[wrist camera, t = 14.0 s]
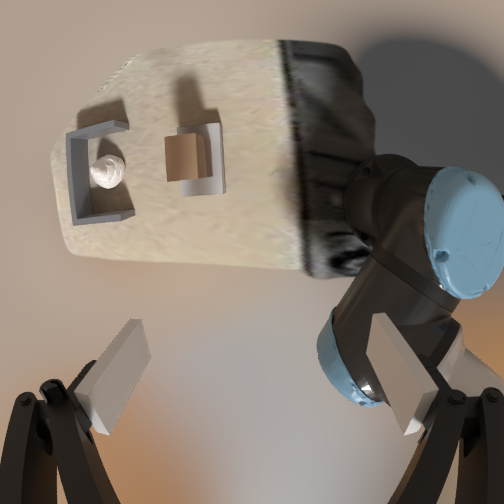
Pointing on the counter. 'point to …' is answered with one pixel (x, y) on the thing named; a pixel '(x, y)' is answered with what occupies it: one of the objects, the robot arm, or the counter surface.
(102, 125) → the box
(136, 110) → the counter surface
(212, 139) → the white-trimmed wooden block
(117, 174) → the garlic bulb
